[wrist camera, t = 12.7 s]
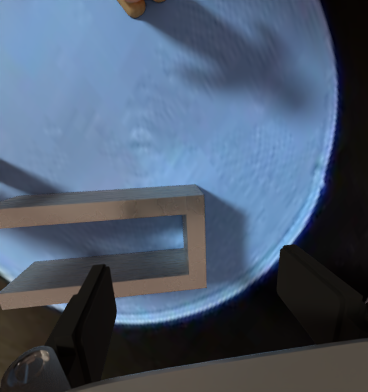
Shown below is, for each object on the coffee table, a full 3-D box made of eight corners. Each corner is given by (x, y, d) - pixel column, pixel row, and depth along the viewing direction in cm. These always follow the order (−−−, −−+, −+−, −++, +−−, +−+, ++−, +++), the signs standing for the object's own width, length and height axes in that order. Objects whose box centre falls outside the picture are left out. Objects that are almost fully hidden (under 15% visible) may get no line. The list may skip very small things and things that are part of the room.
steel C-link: (195, 184, 19) (204, 194, 15) (197, 259, 21) (206, 287, 17) (17, 195, 18) (-29, 211, 14) (37, 274, 20) (2, 309, 16)
